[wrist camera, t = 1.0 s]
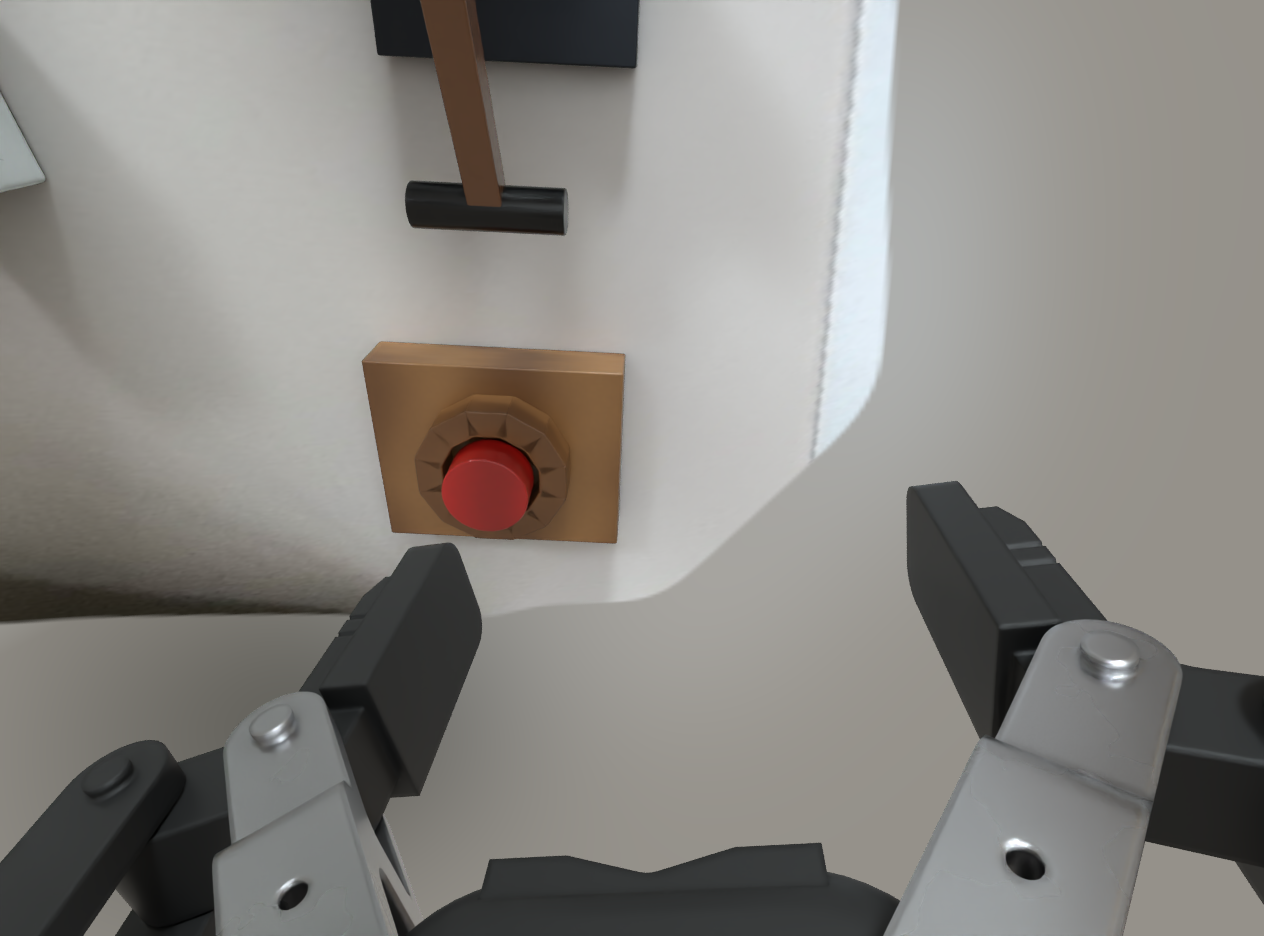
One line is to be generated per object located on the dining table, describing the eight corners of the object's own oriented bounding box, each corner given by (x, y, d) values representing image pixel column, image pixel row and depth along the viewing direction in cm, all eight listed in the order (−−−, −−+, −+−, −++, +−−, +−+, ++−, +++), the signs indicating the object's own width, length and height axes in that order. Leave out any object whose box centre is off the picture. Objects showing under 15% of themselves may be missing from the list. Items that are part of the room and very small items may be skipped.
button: (455, 506, 31) (445, 529, 29) (447, 436, 29) (436, 457, 27) (535, 510, 31) (529, 534, 29) (532, 440, 29) (526, 462, 27)
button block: (405, 506, 35) (379, 555, 32) (379, 340, 30) (345, 377, 27) (618, 516, 35) (615, 566, 32) (625, 353, 30) (621, 391, 27)
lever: (570, 204, 23) (564, 255, 22) (424, 197, 23) (410, 248, 22) (528, -419, 12) (511, -379, 11) (237, -434, 12) (187, -396, 11)
